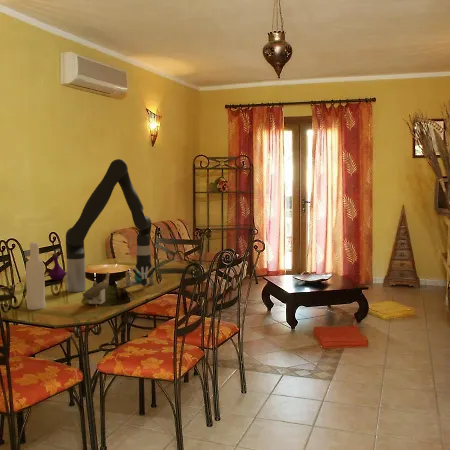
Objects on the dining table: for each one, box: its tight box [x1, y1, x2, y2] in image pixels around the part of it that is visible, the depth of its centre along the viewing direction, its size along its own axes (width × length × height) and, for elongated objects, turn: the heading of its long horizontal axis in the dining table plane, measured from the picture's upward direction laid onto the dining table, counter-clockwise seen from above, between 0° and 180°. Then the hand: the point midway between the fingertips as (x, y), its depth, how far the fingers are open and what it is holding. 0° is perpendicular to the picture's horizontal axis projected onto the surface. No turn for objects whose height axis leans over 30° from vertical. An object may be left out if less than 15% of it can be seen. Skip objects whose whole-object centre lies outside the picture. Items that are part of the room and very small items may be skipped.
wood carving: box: [82, 271, 110, 305], centre depth 251 cm, size 9×35×11 cm, turn 175°
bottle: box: [25, 242, 46, 311], centre depth 238 cm, size 8×8×30 cm
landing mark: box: [123, 280, 149, 287], centre depth 295 cm, size 12×12×1 cm
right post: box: [148, 270, 155, 286], centre depth 290 cm, size 3×3×8 cm
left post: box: [125, 271, 132, 288], centre depth 285 cm, size 3×3×8 cm
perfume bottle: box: [47, 248, 67, 281], centre depth 303 cm, size 8×8×18 cm
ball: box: [133, 271, 141, 282], centre depth 296 cm, size 6×6×6 cm
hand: (143, 285), depth 280 cm, fingers closed
